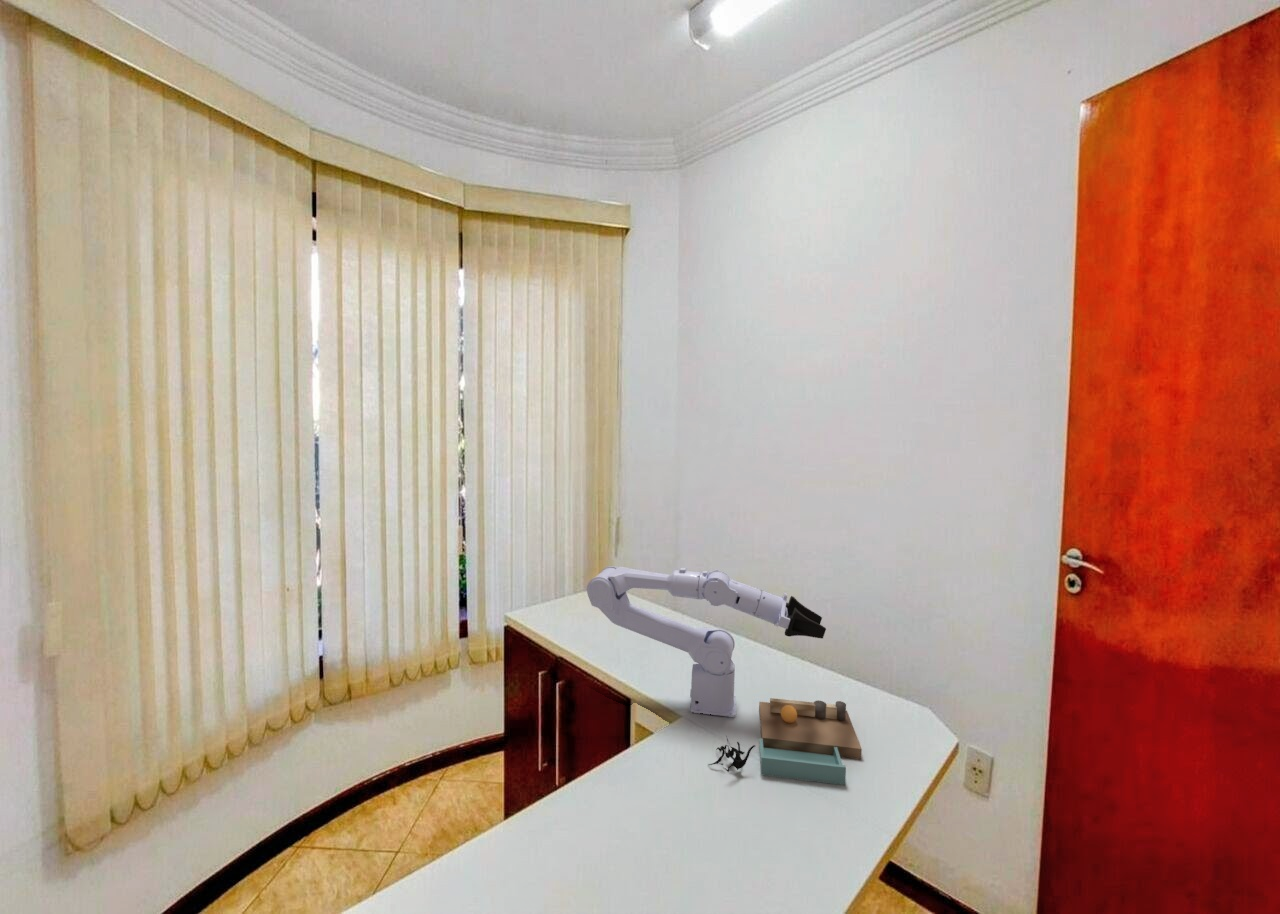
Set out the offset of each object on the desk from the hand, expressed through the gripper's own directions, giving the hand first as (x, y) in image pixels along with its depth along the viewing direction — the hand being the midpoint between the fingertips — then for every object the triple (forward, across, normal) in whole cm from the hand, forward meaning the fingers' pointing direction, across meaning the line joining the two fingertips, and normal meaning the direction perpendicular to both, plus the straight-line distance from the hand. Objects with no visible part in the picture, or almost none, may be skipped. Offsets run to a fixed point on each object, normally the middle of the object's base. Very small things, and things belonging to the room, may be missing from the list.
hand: (822, 627), depth 108 cm
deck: (+3, -3, +20) cm, 21 cm away
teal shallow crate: (+2, -14, +22) cm, 26 cm away
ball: (-1, -4, +20) cm, 20 cm away
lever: (+3, 0, +18) cm, 18 cm away
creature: (-10, -16, +26) cm, 32 cm away
